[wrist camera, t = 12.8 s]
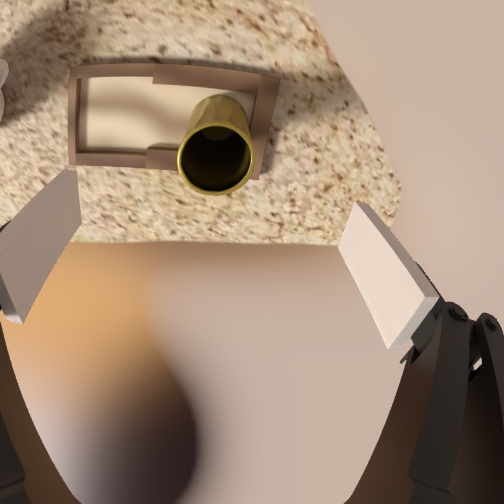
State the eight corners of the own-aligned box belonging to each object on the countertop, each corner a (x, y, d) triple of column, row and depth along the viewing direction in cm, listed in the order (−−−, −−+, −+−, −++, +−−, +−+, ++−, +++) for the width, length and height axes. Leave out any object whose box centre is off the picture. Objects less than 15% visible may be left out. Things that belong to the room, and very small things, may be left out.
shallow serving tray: (76, 66, 24) (70, 66, 23) (277, 77, 28) (280, 78, 27) (74, 161, 31) (69, 165, 29) (257, 175, 35) (258, 180, 34)
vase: (188, 145, 31) (168, 199, 20) (193, 92, 28) (172, 112, 16) (242, 149, 32) (256, 205, 21) (250, 97, 29) (269, 120, 17)
